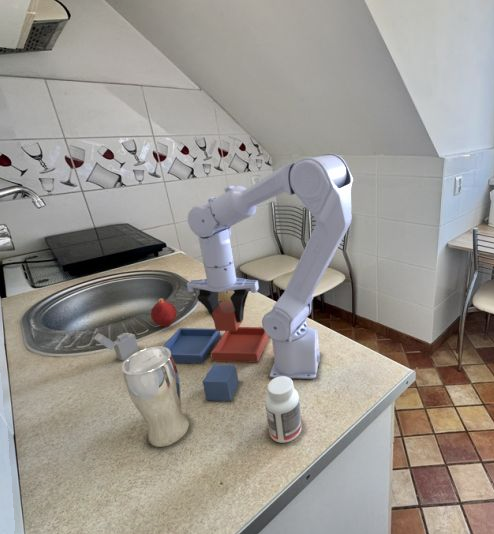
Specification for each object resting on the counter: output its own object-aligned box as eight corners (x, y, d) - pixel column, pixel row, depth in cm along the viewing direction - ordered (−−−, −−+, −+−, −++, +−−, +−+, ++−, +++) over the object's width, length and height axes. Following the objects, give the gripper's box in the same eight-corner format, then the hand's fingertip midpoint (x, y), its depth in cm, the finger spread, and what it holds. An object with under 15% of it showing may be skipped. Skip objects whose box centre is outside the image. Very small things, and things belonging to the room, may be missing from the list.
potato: (233, 298, 97) (228, 268, 93) (242, 311, 90) (237, 279, 86) (202, 307, 93) (195, 275, 89) (208, 321, 86) (201, 287, 82)
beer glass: (143, 456, 50) (115, 381, 44) (148, 422, 56) (124, 352, 50) (191, 440, 53) (171, 367, 47) (191, 409, 58) (173, 341, 53)
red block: (243, 319, 73) (240, 302, 72) (236, 331, 69) (233, 312, 67) (223, 319, 74) (220, 301, 72) (215, 330, 69) (211, 312, 68)
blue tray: (221, 336, 79) (219, 328, 79) (202, 363, 70) (200, 355, 69) (181, 335, 80) (179, 327, 79) (157, 362, 71) (155, 354, 70)
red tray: (269, 334, 80) (268, 327, 79) (257, 362, 70) (256, 353, 69) (229, 334, 80) (228, 326, 79) (212, 360, 71) (210, 352, 70)
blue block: (239, 383, 64) (235, 365, 63) (230, 401, 60) (226, 382, 58) (216, 382, 65) (212, 364, 63) (206, 400, 60) (202, 381, 59)
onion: (169, 333, 81) (161, 305, 78) (149, 331, 82) (141, 303, 79) (184, 321, 86) (177, 294, 83) (165, 319, 87) (158, 293, 84)
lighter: (135, 348, 76) (125, 319, 72) (139, 350, 75) (130, 320, 72) (103, 366, 70) (91, 335, 67) (108, 368, 69) (96, 338, 66)
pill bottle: (303, 416, 57) (299, 372, 53) (300, 443, 52) (295, 397, 48) (272, 417, 57) (266, 373, 53) (266, 444, 52) (259, 398, 48)
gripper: (259, 255, 69) (266, 310, 74) (193, 255, 70) (205, 310, 75) (249, 268, 62) (257, 328, 68) (176, 268, 63) (190, 327, 68)
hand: (229, 319), depth 71 cm, fingers closed on red block, 4 cm apart
